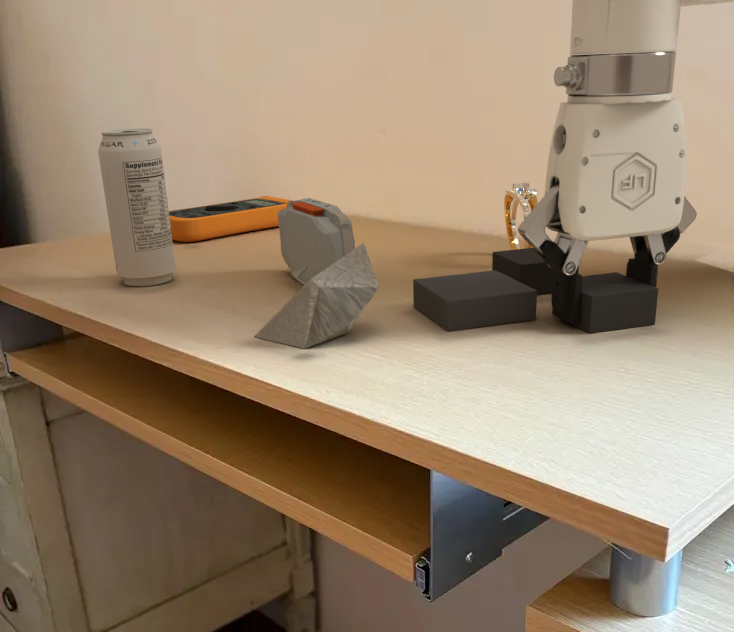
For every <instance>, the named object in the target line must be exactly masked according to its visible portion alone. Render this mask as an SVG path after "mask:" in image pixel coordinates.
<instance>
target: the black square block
mask: <svg viewBox="0 0 734 632" xmlns="http://www.w3.org/2000/svg"><path fill="white" fill-rule="evenodd" d="M582 277H583V287H582V294H581V310H580V320H579V321H578V323H573V324H572V325H573V326H574V327H577V328H578V329H580V330H582V331H584V332H585V333H588V334H595V333H600V332H609V331H617V330H623V329H630V328H638V327H645V326H653V325H656V318H657V307H658V297H659V287H657V286H656V287H654V286H651V285H648V284H646V283H643V282H641V281H638V280H635V279H633V278H630V277H627V276H626V274H625V275H624V274H622V273H620V272H616V271H614V272H606V273H605V272H604V273H598V274H589V275H582ZM551 314H552V315H553V316H555V314H554V309H553V308H551Z"/></svg>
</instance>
